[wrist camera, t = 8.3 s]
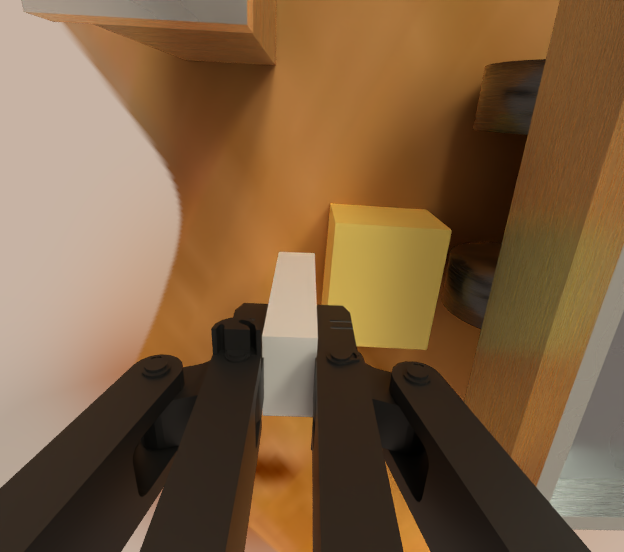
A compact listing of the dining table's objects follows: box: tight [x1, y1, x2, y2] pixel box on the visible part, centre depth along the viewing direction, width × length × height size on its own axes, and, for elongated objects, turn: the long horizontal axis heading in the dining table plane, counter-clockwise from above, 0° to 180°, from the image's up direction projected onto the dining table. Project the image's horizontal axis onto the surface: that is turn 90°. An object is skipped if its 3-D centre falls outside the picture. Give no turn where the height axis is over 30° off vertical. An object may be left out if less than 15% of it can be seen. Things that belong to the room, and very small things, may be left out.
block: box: [321, 203, 452, 350], centre depth 20 cm, size 6×5×4 cm
